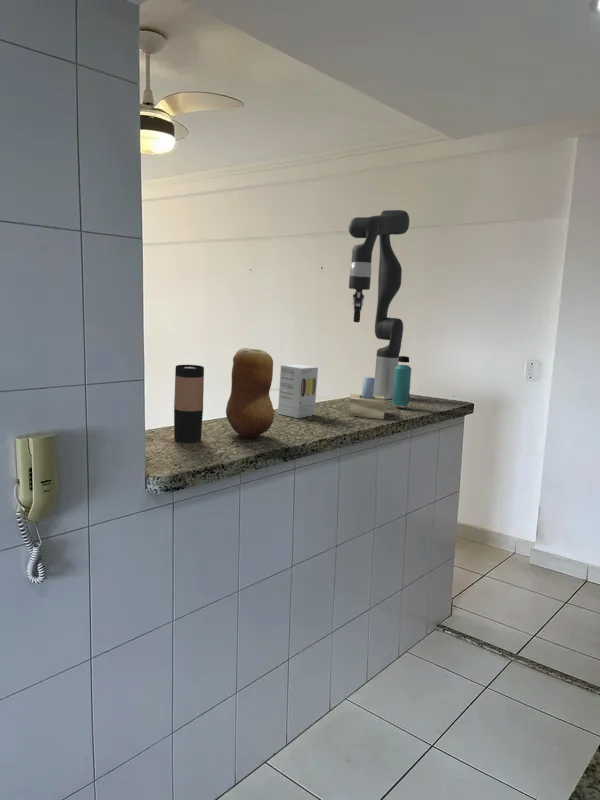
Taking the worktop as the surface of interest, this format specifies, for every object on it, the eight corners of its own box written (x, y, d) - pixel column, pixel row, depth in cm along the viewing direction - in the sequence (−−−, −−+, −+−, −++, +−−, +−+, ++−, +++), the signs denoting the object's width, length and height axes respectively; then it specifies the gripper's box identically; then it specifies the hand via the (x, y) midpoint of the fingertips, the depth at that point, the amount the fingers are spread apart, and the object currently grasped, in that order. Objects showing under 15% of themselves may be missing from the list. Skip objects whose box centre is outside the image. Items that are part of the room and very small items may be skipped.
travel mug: (167, 438, 161) (169, 365, 157) (191, 434, 166) (193, 364, 162) (183, 444, 155) (185, 369, 152) (207, 440, 161) (210, 367, 157)
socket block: (349, 409, 218) (350, 393, 217) (382, 412, 217) (383, 396, 216) (349, 416, 206) (350, 399, 205) (383, 418, 205) (385, 401, 204)
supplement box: (297, 418, 196) (301, 368, 193) (276, 414, 202) (279, 364, 199) (315, 415, 204) (318, 366, 200) (294, 410, 209) (297, 363, 206)
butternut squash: (282, 438, 168) (287, 351, 164) (245, 445, 159) (249, 352, 154) (250, 428, 178) (255, 345, 173) (214, 434, 168) (217, 346, 164)
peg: (360, 409, 213) (363, 376, 211) (371, 410, 213) (374, 377, 211) (360, 411, 210) (363, 378, 207) (371, 412, 209) (374, 379, 207)
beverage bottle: (409, 410, 224) (414, 357, 220) (392, 409, 224) (396, 356, 220) (406, 407, 230) (411, 355, 227) (389, 406, 230) (394, 354, 227)
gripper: (349, 275, 217) (346, 320, 220) (349, 274, 203) (345, 321, 206) (370, 277, 217) (366, 321, 220) (371, 275, 203) (367, 323, 206)
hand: (356, 321), depth 213 cm, fingers open, 8 cm apart
